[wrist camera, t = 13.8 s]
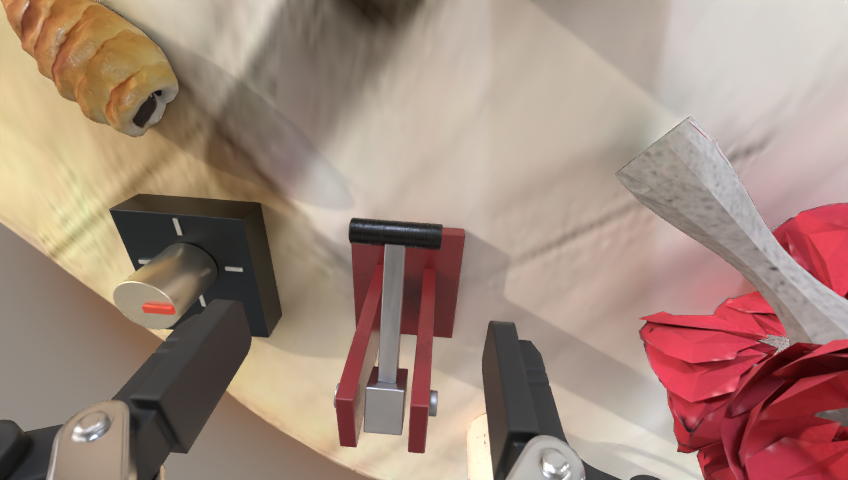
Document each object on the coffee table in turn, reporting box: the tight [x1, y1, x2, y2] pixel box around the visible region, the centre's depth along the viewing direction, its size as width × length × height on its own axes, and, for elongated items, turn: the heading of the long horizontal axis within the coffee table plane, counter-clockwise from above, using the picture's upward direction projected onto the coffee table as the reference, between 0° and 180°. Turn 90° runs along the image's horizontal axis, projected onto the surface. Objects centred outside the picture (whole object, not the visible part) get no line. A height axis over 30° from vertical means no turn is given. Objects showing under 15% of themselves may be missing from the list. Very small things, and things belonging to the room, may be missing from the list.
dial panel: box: [109, 194, 282, 338], centre depth 30 cm, size 12×10×3 cm
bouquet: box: [615, 116, 848, 480], centre depth 20 cm, size 22×24×30 cm
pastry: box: [1, 0, 179, 137], centre depth 22 cm, size 9×7×4 cm
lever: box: [349, 218, 443, 435], centre depth 21 cm, size 12×5×2 cm, turn 177°
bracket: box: [334, 228, 465, 453], centre depth 26 cm, size 11×9×14 cm
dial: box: [113, 243, 218, 329], centre depth 26 cm, size 4×4×5 cm
